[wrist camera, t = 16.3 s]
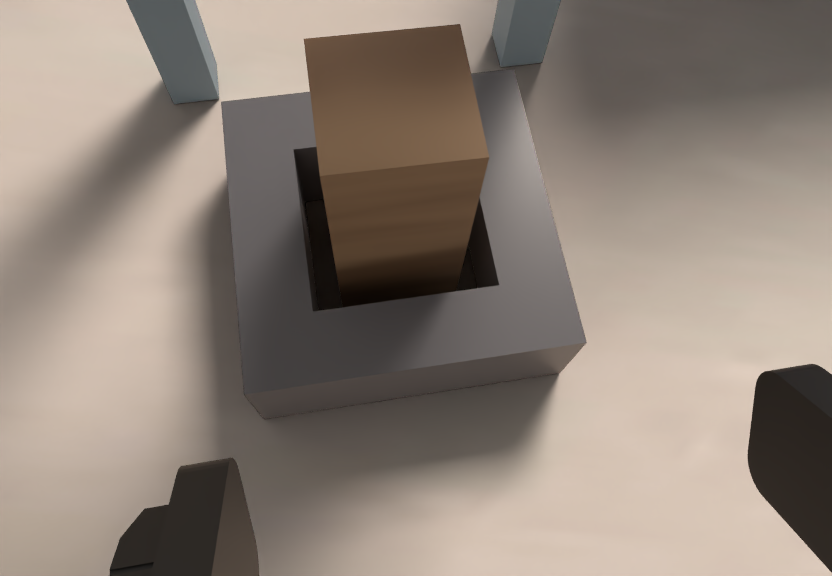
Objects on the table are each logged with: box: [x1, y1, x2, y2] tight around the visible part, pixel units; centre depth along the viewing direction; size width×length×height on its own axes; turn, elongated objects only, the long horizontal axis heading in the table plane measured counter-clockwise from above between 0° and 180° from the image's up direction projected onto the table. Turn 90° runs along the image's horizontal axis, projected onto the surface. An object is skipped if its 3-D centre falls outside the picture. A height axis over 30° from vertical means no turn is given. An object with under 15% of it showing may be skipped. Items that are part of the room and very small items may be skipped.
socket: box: [221, 69, 586, 419], centre depth 27 cm, size 12×12×4 cm
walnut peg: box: [304, 24, 489, 307], centre depth 24 cm, size 4×4×11 cm
